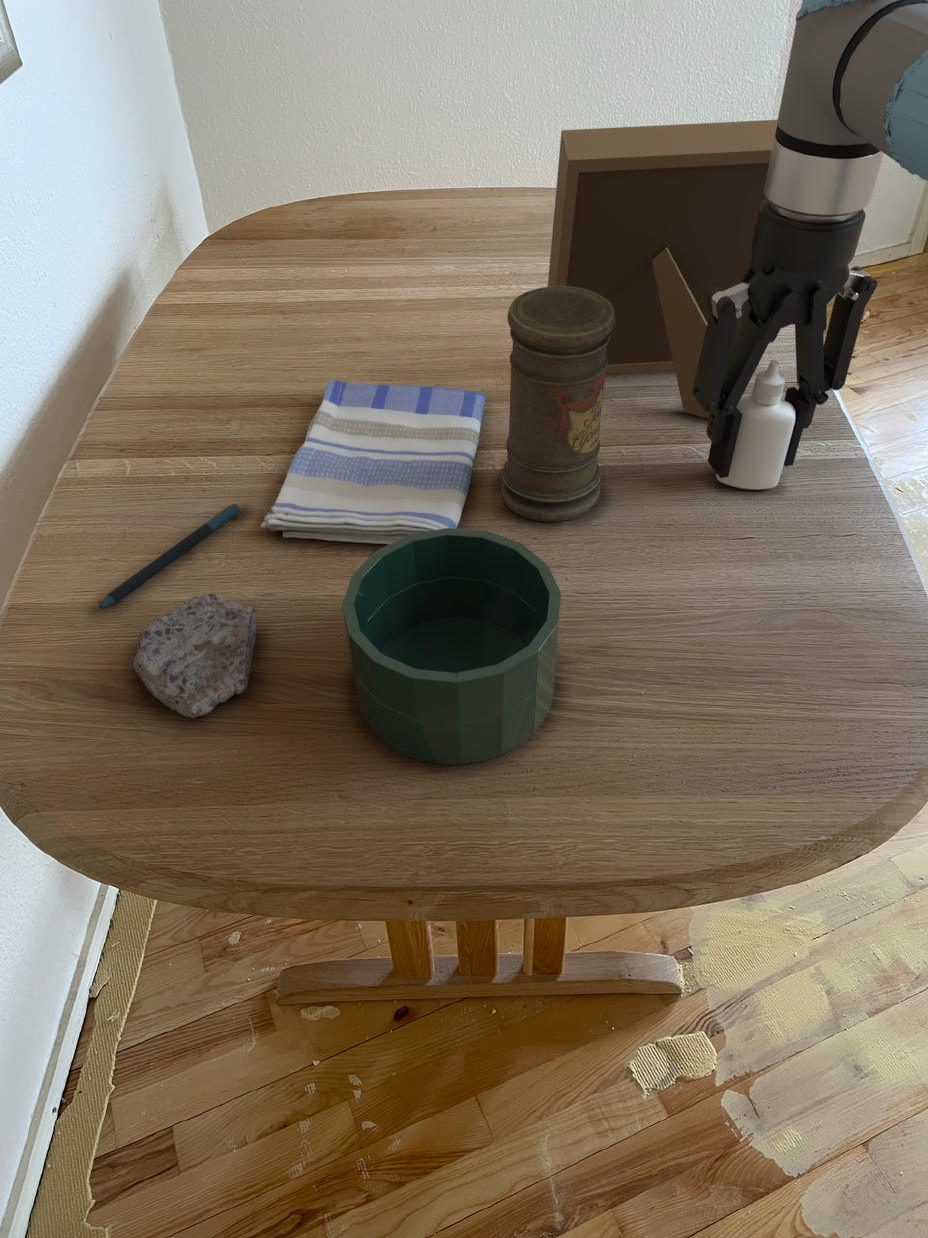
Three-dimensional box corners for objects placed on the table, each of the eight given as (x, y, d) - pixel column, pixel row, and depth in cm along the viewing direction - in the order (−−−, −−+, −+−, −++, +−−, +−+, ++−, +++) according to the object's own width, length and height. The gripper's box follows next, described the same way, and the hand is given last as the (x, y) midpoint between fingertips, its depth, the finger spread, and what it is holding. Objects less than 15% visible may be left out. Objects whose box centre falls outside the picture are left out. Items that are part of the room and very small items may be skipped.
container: (490, 514, 82) (490, 328, 69) (515, 457, 88) (520, 276, 75) (588, 531, 80) (607, 344, 67) (607, 472, 86) (629, 289, 73)
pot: (580, 739, 64) (591, 654, 58) (377, 785, 62) (364, 701, 56) (520, 599, 74) (523, 513, 68) (343, 634, 72) (329, 548, 65)
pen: (96, 611, 74) (91, 601, 73) (234, 510, 83) (231, 499, 82) (104, 617, 74) (100, 606, 73) (242, 514, 83) (239, 504, 82)
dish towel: (260, 540, 80) (254, 515, 78) (328, 394, 96) (324, 371, 94) (454, 557, 78) (453, 532, 76) (490, 405, 94) (490, 381, 92)
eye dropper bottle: (731, 456, 87) (757, 341, 78) (785, 479, 84) (818, 363, 76) (707, 478, 85) (731, 361, 76) (761, 502, 82) (792, 384, 73)
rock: (263, 615, 73) (253, 578, 71) (248, 722, 66) (236, 686, 63) (152, 621, 73) (138, 585, 70) (125, 729, 66) (108, 693, 63)
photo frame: (541, 357, 101) (552, 108, 83) (735, 346, 101) (788, 97, 84) (561, 434, 90) (578, 169, 72) (777, 420, 91) (847, 155, 73)
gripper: (898, 170, 71) (821, 424, 87) (674, 198, 68) (638, 456, 84) (958, 206, 66) (864, 469, 82) (718, 239, 63) (671, 505, 79)
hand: (750, 462), depth 83 cm, fingers closed on eye dropper bottle, 6 cm apart
